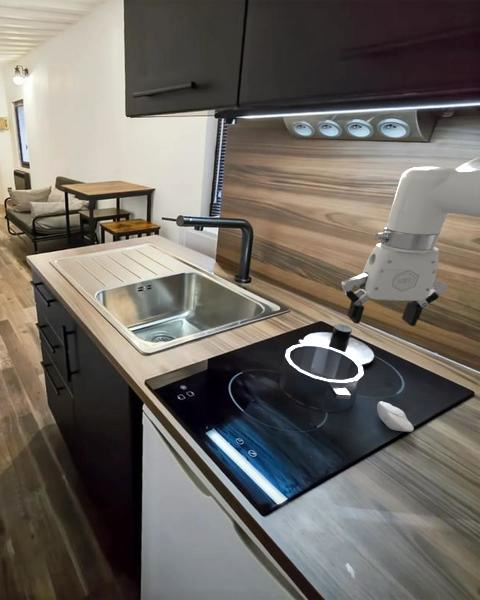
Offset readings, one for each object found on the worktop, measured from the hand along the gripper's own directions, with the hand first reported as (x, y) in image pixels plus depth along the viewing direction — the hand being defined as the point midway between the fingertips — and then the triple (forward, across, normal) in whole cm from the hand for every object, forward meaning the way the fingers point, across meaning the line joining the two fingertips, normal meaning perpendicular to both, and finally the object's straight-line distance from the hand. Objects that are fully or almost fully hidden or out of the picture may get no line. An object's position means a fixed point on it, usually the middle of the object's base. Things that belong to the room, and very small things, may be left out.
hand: (380, 321), depth 74 cm
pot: (+15, -10, -4) cm, 19 cm away
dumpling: (+15, 0, -13) cm, 20 cm away
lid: (+14, 0, +12) cm, 19 cm away
